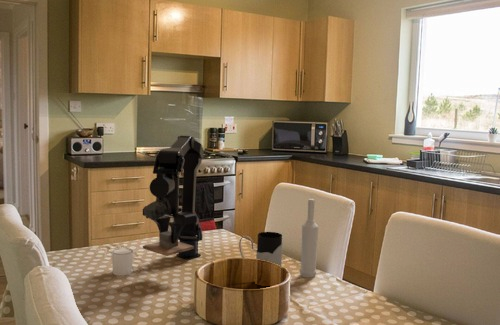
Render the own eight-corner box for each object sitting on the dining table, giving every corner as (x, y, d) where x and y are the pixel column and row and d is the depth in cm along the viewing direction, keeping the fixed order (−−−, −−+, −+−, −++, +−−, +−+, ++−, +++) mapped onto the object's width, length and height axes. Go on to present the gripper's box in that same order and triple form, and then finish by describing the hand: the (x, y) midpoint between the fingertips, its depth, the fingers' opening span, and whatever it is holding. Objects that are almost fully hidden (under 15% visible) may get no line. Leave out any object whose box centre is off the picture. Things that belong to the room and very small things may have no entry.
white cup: (127, 277, 161) (127, 255, 160) (107, 275, 162) (107, 253, 161) (136, 270, 167) (137, 249, 167) (117, 268, 169) (117, 247, 168)
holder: (278, 288, 155) (279, 239, 153) (233, 282, 159) (234, 234, 158) (285, 279, 163) (287, 233, 161) (242, 273, 168) (244, 228, 166)
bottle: (318, 274, 169) (321, 199, 166) (313, 279, 164) (316, 201, 161) (302, 271, 171) (306, 197, 168) (297, 276, 166) (301, 199, 164)
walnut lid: (170, 241, 166) (170, 227, 166) (194, 248, 159) (194, 233, 159) (142, 248, 158) (142, 233, 157) (167, 256, 151) (167, 240, 150)
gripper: (128, 190, 156) (128, 240, 158) (170, 199, 145) (169, 253, 146) (157, 186, 165) (156, 234, 167) (198, 194, 153) (197, 246, 155)
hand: (168, 241), depth 158 cm, fingers closed on walnut lid, 4 cm apart
